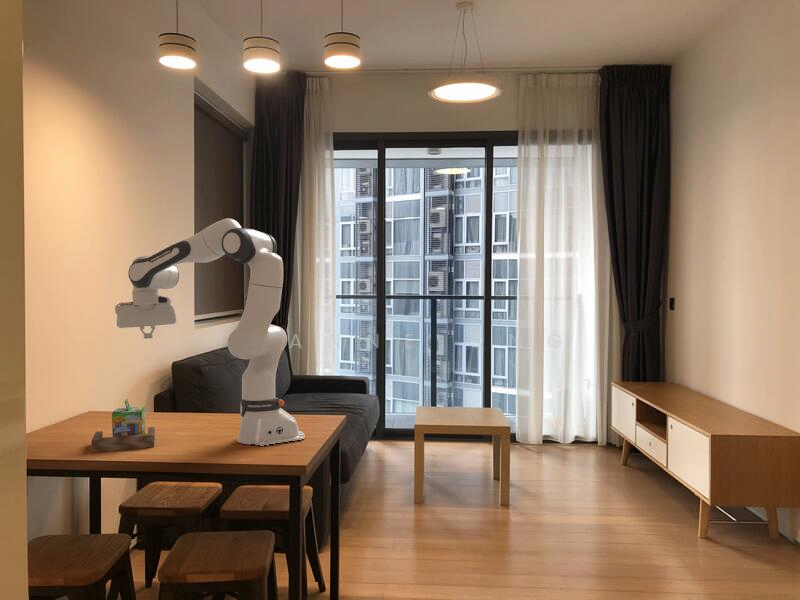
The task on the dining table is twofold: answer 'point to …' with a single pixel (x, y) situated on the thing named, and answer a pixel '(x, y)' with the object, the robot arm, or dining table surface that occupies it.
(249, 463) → the dining table surface
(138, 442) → the grey-brown shallow rectangular tray
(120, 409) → the chalk box
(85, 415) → the dining table surface
